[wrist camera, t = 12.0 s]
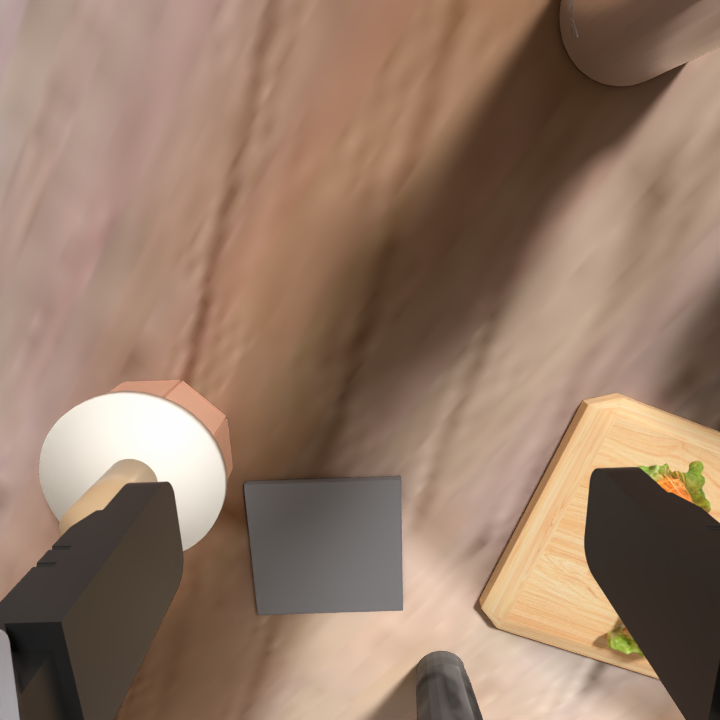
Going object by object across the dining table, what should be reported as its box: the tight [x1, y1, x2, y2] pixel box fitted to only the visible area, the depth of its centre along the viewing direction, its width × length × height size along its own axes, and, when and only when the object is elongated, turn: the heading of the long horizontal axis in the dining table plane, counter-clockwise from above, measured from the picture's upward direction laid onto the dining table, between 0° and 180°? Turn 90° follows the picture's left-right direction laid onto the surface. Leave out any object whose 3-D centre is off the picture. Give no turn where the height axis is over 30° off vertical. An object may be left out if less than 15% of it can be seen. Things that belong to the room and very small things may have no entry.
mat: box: [244, 476, 403, 615], centre depth 45 cm, size 13×13×1 cm
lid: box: [39, 391, 228, 551], centre depth 34 cm, size 13×13×7 cm
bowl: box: [110, 380, 233, 480], centre depth 40 cm, size 11×11×5 cm
